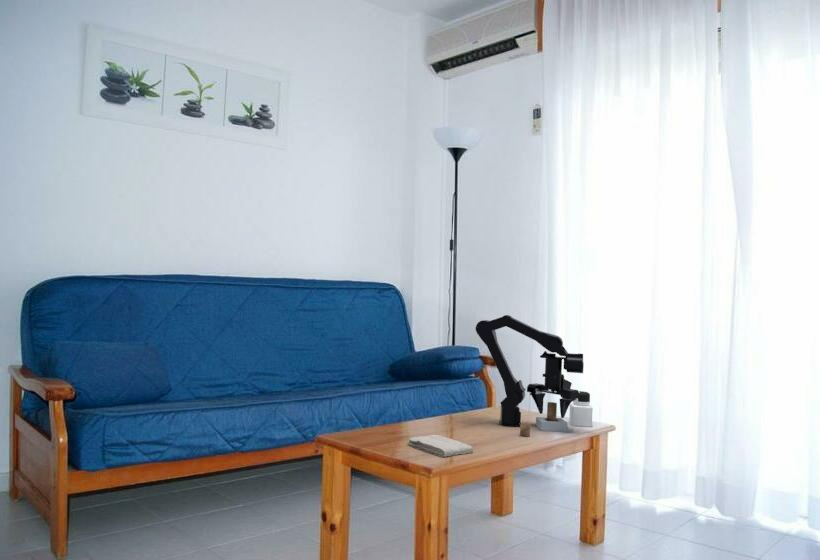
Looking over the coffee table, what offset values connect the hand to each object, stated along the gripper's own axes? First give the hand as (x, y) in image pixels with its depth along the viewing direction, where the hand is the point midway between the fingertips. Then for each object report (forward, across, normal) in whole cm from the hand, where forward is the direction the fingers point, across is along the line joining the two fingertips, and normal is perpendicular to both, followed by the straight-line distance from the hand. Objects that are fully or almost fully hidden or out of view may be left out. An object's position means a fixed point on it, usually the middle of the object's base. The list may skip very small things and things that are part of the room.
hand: (551, 415), depth 227 cm
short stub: (+5, -3, +18) cm, 19 cm away
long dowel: (+4, 0, 0) cm, 4 cm away
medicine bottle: (+5, -1, -16) cm, 17 cm away
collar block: (+4, 0, 0) cm, 4 cm away
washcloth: (+5, 0, +55) cm, 55 cm away
